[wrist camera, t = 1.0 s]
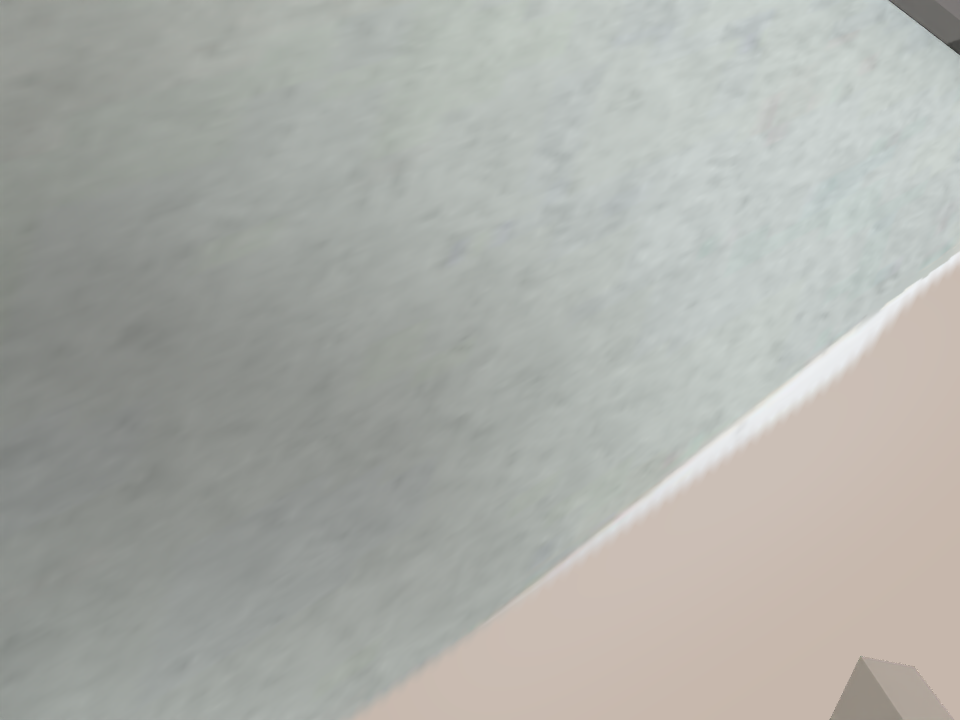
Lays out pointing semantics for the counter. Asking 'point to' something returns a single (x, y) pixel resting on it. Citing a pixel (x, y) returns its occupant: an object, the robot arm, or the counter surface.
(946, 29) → the dark grey slider track
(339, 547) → the counter surface
